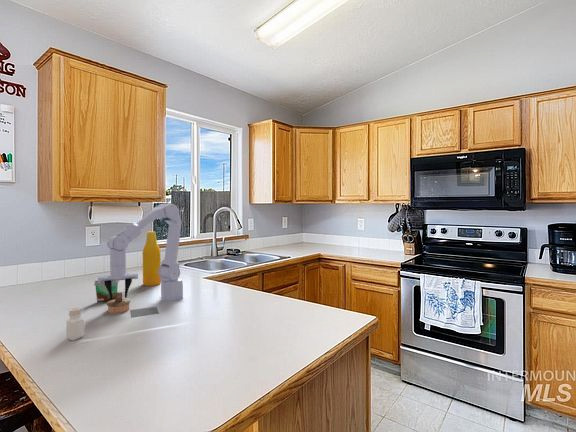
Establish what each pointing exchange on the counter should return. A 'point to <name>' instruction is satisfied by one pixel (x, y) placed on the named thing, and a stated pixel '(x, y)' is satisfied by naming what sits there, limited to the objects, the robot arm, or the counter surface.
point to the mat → (144, 311)
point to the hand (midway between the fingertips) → (118, 297)
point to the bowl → (118, 308)
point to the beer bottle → (151, 261)
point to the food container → (105, 291)
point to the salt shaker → (75, 324)
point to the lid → (118, 300)
